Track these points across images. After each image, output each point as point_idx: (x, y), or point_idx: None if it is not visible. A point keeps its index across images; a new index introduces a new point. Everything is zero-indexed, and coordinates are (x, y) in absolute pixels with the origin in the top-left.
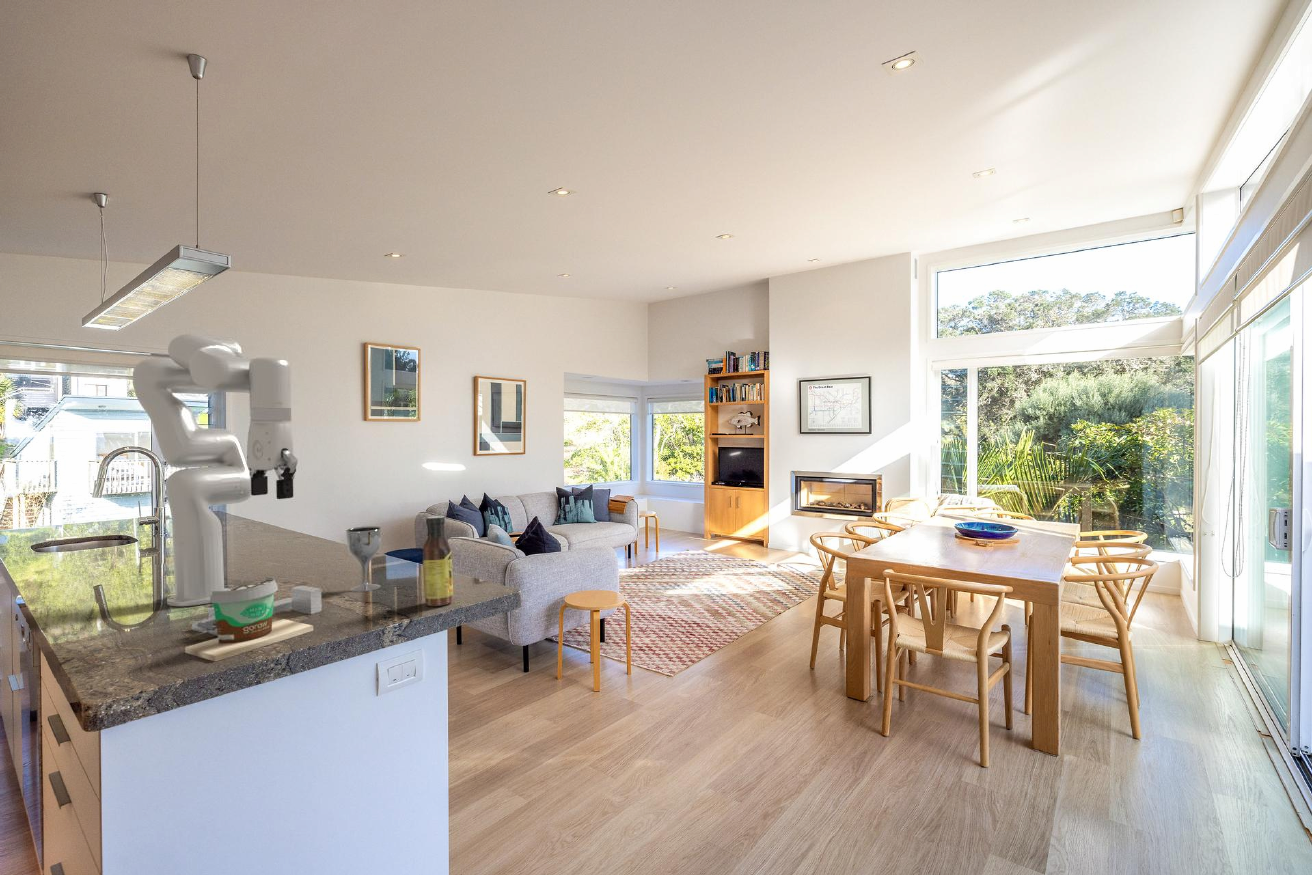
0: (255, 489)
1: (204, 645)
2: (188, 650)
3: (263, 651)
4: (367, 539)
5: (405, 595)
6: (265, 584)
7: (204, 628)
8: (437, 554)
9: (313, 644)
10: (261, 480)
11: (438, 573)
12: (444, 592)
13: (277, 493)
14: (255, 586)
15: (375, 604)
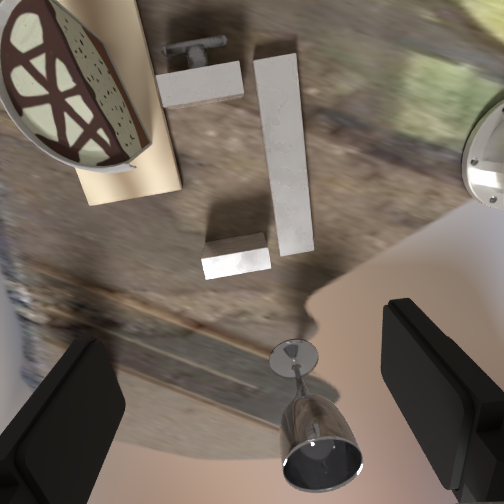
0: (399, 336)
1: (110, 14)
2: None
3: None
4: (282, 441)
5: (188, 375)
6: (14, 122)
7: (253, 65)
8: None
9: (3, 170)
10: (437, 430)
11: None
12: None
13: (61, 361)
14: (71, 115)
15: (174, 328)
